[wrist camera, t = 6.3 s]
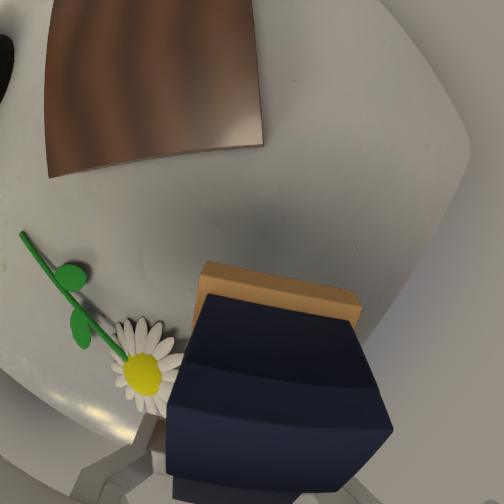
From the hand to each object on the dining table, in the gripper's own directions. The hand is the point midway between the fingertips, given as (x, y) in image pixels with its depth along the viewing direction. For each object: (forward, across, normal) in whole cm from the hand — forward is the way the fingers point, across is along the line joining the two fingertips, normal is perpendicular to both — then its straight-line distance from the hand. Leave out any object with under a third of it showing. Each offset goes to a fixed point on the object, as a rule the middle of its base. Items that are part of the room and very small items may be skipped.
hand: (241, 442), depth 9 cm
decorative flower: (+22, +18, +12) cm, 30 cm away
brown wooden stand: (+22, +14, -19) cm, 32 cm away
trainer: (+2, 0, 0) cm, 2 cm away
